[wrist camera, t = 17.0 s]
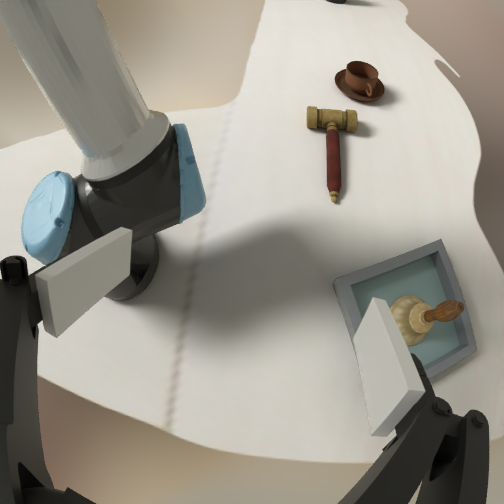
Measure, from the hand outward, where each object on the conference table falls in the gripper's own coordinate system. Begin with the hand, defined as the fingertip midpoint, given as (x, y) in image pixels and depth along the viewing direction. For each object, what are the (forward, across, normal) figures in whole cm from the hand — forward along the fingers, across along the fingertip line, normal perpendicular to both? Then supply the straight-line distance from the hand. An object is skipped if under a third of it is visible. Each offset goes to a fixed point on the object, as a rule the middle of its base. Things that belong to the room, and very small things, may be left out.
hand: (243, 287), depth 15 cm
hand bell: (+25, +25, -12) cm, 38 cm away
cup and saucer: (+57, +11, +27) cm, 64 cm away
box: (+26, +25, -12) cm, 38 cm away
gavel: (+44, +8, +8) cm, 46 cm away
